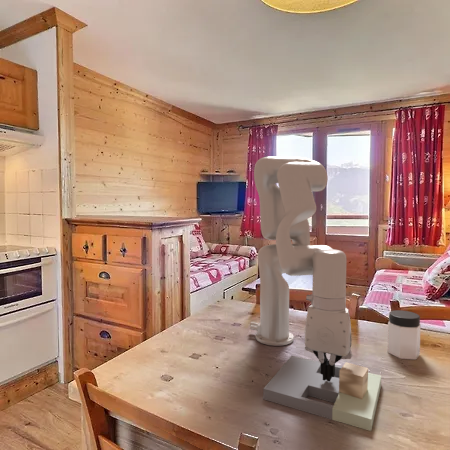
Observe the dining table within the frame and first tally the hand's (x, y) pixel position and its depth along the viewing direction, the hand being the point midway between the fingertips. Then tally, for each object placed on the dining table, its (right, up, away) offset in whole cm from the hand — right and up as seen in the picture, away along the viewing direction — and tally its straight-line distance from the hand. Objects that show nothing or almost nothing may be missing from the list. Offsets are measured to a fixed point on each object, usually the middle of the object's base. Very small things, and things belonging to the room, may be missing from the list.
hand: (327, 378), depth 82 cm
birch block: (+5, -1, -4) cm, 6 cm away
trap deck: (-1, -4, 0) cm, 4 cm away
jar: (+29, -2, +21) cm, 36 cm away
